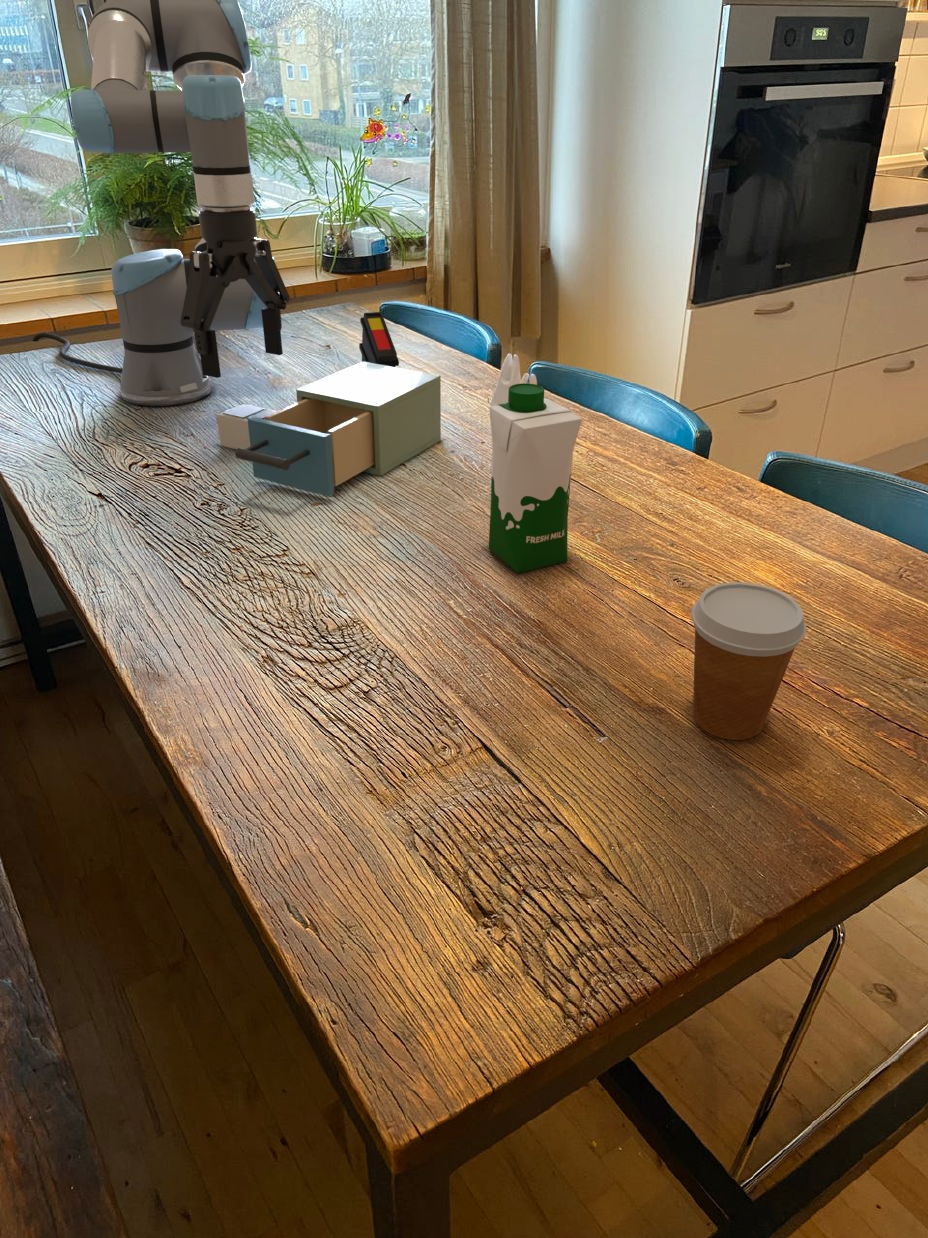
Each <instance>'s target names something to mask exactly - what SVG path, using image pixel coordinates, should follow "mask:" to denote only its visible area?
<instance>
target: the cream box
mask: <svg viewBox="0 0 928 1238" xmlns="http://www.w3.org/2000/svg"><path fill="white" fill-rule="evenodd" d="M277 411H278V410H275V409H271V408H265V407H261V406H257V405H253V404H252V405H251V404H248V403H240V404H238V405H236V406H233V407H231V408H228V409H226V410H223V411H221V412H218V413H216V421H217V430H218V436H219V444H220V446H221V447H225V448H229V449H234V450H237V449H238V448H242V449H246V448H248V447H250V438H249V429H248V421H247V419H249V418H252V417H255V418H260V419H264V420H265V416H267V415H270V414H272V413H274V412H277Z"/></svg>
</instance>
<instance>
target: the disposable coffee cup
mask: <svg viewBox="0 0 928 1238" xmlns="http://www.w3.org/2000/svg"><path fill="white" fill-rule="evenodd" d="M803 611H804V610H803V609H802V607H801V605H800V604H799V603H798V602H797V601H796V600H795V599H793V598H792V597H790V596H789V595H788V594H786V593H784V592H782V591H780V590H778V589H775V588H773V587H770V586H766V585H762V584H759V583H753V582H741V581H739V582H738V581H731V582H723V583H718V584H715V585H712V586H710V587H709V588H708V587H707V589H705V590H703V591H702V593H701V595H700V596H699V598H698V600H697V601H696V602H695V603H694V604H693V606H692V608H691V620H692V623H693V626H694V654H693V655H694V659H693V662H694V663H693V668H694V669H693V693H692V696H693V698H692V699H693V700H692V702H693V703H692V717H693V720H694V721H695V723H696V724H697V726H698V727H700V728H701V729H702V730H703V731H705V732H706V733H708V734H710V735H712V736H715V737H718V738H721V739H724V740H732V741H743V740H748V739H752V738H755V737H757V735H759V734H760V733H761V732H762V730H763V728H764V725H765V723H766V720H767V718H768V715H769V713H770V710H771V709H772V706H773V703H774V701H775V698H776V697H777V693H778V691H779V690H780V689H779V688H780V686H781V684H782V682H783V679H784V676H785V675H786V671H787V670H788V666H789V664H790V662H791V660H792V657H793V654H794V651H795V649H796V648H797V647H798V645H799V644H800V643H801V642H802V641H803V639H804V638H805V636H806V632H807V624H806V621H805V620H804V612H803Z"/></svg>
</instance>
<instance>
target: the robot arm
mask: <svg viewBox="0 0 928 1238" xmlns="http://www.w3.org/2000/svg"><path fill="white" fill-rule="evenodd" d="M87 46H88V50H89V53H90V55H91V57H92V69H91V82H90V83H91V84H90V87H89V88H87V89H78V90H74V91H73V92H72V93H71V95H70V108H71V116H72V121H73V123H72V124H73V128H74V131H75V136H76V139H77V143H78V144H79V146H80V148H81V149H82V150H83V151H85V152H87V153H99V154H105V155H114V154H146V153H147V154H153V153H154V154H155V153H157V154H158V153H190V155H191V162H192V173H193V180H194V188H195V189H194V190H195V196H196V204H197V205H198V213H197V215H198V220H199V221H198V222H199V228H200V229H199V230H200V236H201V239H200V240H199V241H198V242H197V243H196V245H195V247H194V251H193V250H192V251H190V252H189V258H184V255H183V254H182V252H181V250H179V249H177V248H159V249H151V250H146V251H141V252H137V253H134V254H130V255H126V256H124V257H121V258H119V259H118V260H117V261H115V262H114V263H113V265H112V267H111V270H110V273H111V274H110V275H111V283H112V288H113V289H112V295H114V300H115V306H116V309H117V315H118V322H119V326H120V333H121V338H122V344H123V350H124V353H123V354H124V355H123V362H122V367H118V366H111V365H106V364H102V363H96V362H92V361H88V360H85V359H79V358H77V357H73V356H70V355H68V354H66V352H67V351H68V350H69V349H70V347H71V342H70V341H69V340H68V339H66V338H64V337H62V336H59V335H57V334H55V333H50V332H39V333H37V334H36V335H34V337H33V338H32V342H39V340H40V339H43V338H47V339H51V340H54V341H56V342H59V343H61V344H63V346H62V347H61V348H60V349H59V351H58V354H59V357H61V358H62V359H63V360H65V361H67V362H70V363H72V364H77V365H81V366H84V367H87V368H91V369H96V370H101V371H107V372H112V373H118V374H121V375H120V377H121V378H120V382H119V389H120V394H121V398H122V400H124V401H126V402H127V403H130V404H133V405H138V406H144V407H167V406H168V407H169V406H177V405H183V404H189V403H192V402H196V401H198V400H201V399H203V398H205V397H206V396H208V395H209V394H210V393H211V392H212V384H211V378H215V379H218V378H221V377H222V374H221V365H220V359H219V358H220V357H219V349H218V343H217V342H218V341H217V336H216V335H217V334H216V332H217V331H236V330H237V331H238V330H239V331H240V330H245V331H249V330H253V329H262V331H263V339H264V340H263V341H264V351H265V354H270V355H276V356H282V355H283V341H282V332H281V331H282V327H283V326H282V325H283V324H282V313H281V310H282V311H284V310H286V308H287V303H288V302H289V301H290V294H289V292H288V289H287V288H286V285H285V282H284V280H283V278H282V275H281V274H280V271H279V269H278V267H277V264H276V259H275V257H274V256H273V253H272V247H271V243H270V240H268V239H264V238H263V239H262V238H257V237H258V229H257V228H258V227H257V217H256V211H255V210H254V208H252V206H253V205H254V204H255V195H254V185H253V177H252V176H253V175H252V170H251V165H250V164H251V162H250V152H249V151H250V150H249V139H248V127H247V119H246V117H247V116H246V108H247V107H246V102H245V98H244V92H243V86H245V85H244V84H245V80H246V79H245V75H246V74H249V73H250V72H252V56H251V49H250V45H249V38H248V32H247V26H246V23H245V19H244V15H243V11H242V8H241V6H240V2H239V0H106V1H105V2H103V3H102V4H101V5H100V6H99V7H98V8H97V9H96V10H95V11H94V13H93V15H92V17H91V19H90V20H89V24H88V28H87ZM147 72H156V73H157V72H160V73H172V79H173V82H174V85H176V87H177V88H178V89H180V90H178V89H177V90H175V89H174V90H172V89H171V90H167V89H166V90H164V89H163V90H157V89H156V90H151V89H148V78H147V77H148V76H147V75H148V74H147ZM210 377H211V378H210Z"/></svg>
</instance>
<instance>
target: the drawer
mask: <svg viewBox="0 0 928 1238" xmlns="http://www.w3.org/2000/svg"><path fill="white" fill-rule="evenodd" d="M276 411H277V412H274V413H272V414H270V415H267V416H265V420H264V419H260V418H255V417H252V418H249V419H247V421H248V429H249V438H250V447H248V448H246V449H242V448H238V449H235V451H234V454H235V458H236V459H239V460H243V461H247V462H250V463H252V472H253V477H254V478H255V479H259V480H264V481H267V482H272V483H276V484H279V485H283V486H286V487H290V488H295V489H299V490H302V491H306V492H310V493H313V494H316V495H317V494H318V495H322V496H324V497H331V496H333V495H335V487H337V486H339V485H341V484H342V483H344V482H346V481H348V480H349V479H352V478H353V477H355V476H357V475H358V474H360V473H362V471H364V470H365V469H367V468H369V467H371V466H372V465H374V464H375V442H374V417H373V411H369V410H364V409H359V408H354V407H350V406H345V405H340V404H335V403H331V402H326V401H321V400H316V399H312V398H306V399H304V400H302V401H300V402H297V401H296V402H295V403H293V404H291V405H288V406H286V407H284V408H281V409H279V410H276Z"/></svg>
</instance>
